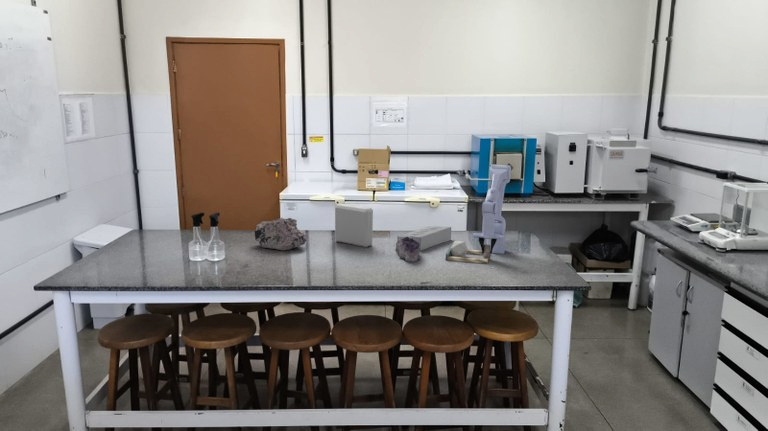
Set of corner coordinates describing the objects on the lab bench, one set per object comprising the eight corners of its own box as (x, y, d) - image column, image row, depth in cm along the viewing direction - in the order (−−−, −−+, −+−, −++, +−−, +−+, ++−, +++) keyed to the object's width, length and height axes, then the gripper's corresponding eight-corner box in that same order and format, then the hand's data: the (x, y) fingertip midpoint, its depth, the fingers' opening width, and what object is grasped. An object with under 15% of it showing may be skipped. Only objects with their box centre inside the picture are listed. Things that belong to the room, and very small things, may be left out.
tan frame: (490, 254, 279) (491, 241, 277) (488, 263, 263) (489, 249, 262) (450, 250, 283) (450, 238, 282) (445, 260, 268) (446, 246, 266)
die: (460, 262, 268) (472, 245, 268) (446, 251, 269) (457, 235, 270) (460, 263, 276) (472, 247, 276) (446, 253, 278) (457, 237, 278)
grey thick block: (375, 244, 293) (375, 207, 289) (366, 248, 286) (366, 210, 282) (342, 238, 304) (342, 202, 300) (333, 241, 297) (333, 205, 293)
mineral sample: (310, 217, 293) (300, 210, 279) (310, 252, 288) (300, 247, 274) (262, 223, 298) (250, 216, 284) (262, 257, 293) (249, 252, 279)
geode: (427, 262, 265) (425, 242, 262) (403, 266, 263) (401, 246, 260) (416, 249, 284) (415, 230, 281) (394, 253, 282) (392, 234, 279)
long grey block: (428, 236, 315) (429, 222, 313) (450, 240, 306) (451, 226, 305) (397, 246, 292) (397, 232, 290) (420, 251, 283) (420, 237, 281)
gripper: (472, 226, 266) (470, 254, 269) (503, 229, 262) (501, 256, 265) (473, 223, 272) (472, 250, 275) (504, 225, 269) (502, 252, 272)
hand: (486, 253), depth 271 cm, fingers open, 3 cm apart
